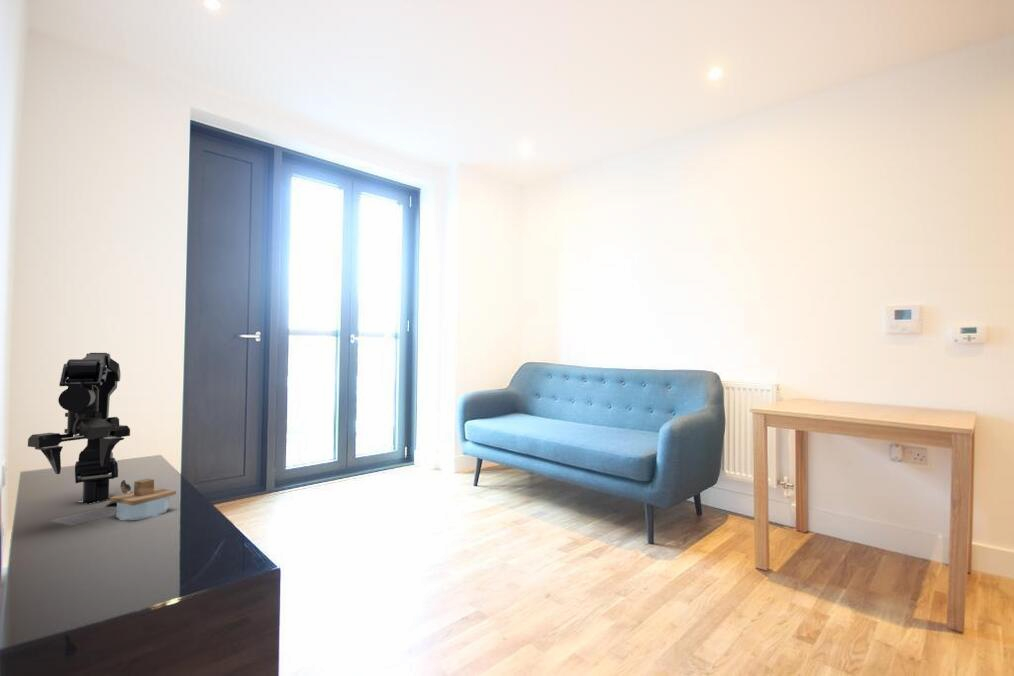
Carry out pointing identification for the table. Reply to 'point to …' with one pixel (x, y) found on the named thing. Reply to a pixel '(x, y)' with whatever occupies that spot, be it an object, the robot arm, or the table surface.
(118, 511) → the bowl
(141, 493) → the lid
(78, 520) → the mat
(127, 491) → the eagle figurine
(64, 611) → the table surface
